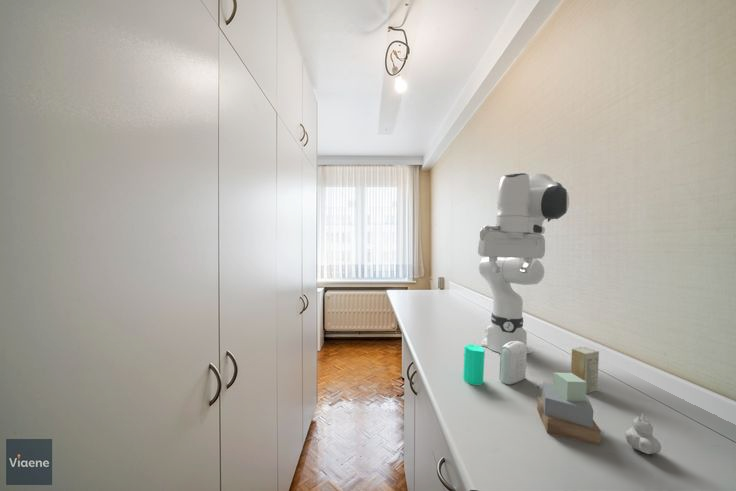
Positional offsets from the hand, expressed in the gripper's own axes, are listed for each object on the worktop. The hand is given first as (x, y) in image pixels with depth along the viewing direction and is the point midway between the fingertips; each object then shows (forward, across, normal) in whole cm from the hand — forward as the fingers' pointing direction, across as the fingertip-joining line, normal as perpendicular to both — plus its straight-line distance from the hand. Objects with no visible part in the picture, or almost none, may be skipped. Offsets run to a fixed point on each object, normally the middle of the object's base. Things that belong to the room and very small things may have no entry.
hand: (510, 272), depth 84 cm
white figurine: (+35, +13, -27) cm, 46 cm away
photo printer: (+35, +6, +5) cm, 36 cm away
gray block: (+32, +4, -17) cm, 36 cm away
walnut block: (+36, +4, -18) cm, 40 cm away
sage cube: (+28, +4, -18) cm, 33 cm away
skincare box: (+35, +25, -3) cm, 43 cm away
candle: (+35, -7, +5) cm, 36 cm away
